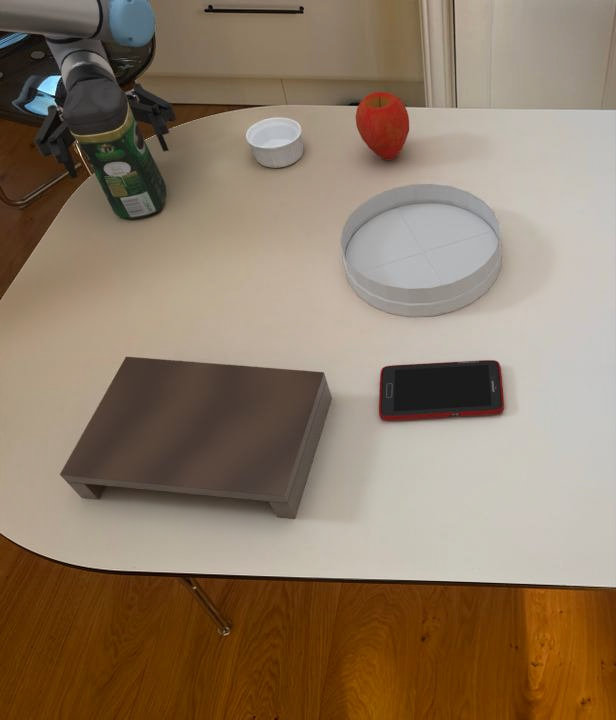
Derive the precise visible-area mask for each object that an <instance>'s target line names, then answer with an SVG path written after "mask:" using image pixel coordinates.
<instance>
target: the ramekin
mask: <svg viewBox="0 0 616 720" xmlns="http://www.w3.org/2000/svg"><path fill="white" fill-rule="evenodd" d="M302 135H303V130H302V126H301V125H300V124H299V122H298V121H296V120H294V119H292V118H288V117H281V116H280V117H270V118H265V119H261V120H259V121H257V122H255V123H253V124H252V125H251V126H250V127H249V128H248V129H247V131H246V133H245V140H246V142H247V143H248V145H249V147H250V150H251V152H252V155H253V156H254V159H255V161H256V162H257V163H258V164H259V165H261V166H263V167H267V168H273V169H274V168H275V169H276V168H277V169H278V168H279V169H280V168H284V167H288V166H291V165H293V164H295V163H296V162H298V161H299V160H300V159H301V157H302V156H303V154H304V144H303V137H302Z"/></svg>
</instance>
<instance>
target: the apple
mask: <svg viewBox="0 0 616 720" xmlns="http://www.w3.org/2000/svg"><path fill="white" fill-rule="evenodd" d="M355 112H356V113H355V125H356V126H355V127H356V128H357V130H358V133H359V136H360V137H361V140H362V141H363V142H364V144H365V145H366V146H367V147H368V149H370V150H371V151H372V152H373V153H374V154H375V155H377V156H378V157H379V158H381V159H382V160H385V161H387V160H394V159H396V158H397V156H398V155H399V153H400V152H401V151H402V149H403V147H404V146H405V143H406V141H407V138H408V135H409V132H410V117H409V113H408V110H407V107H406V106H405V103H404V102H403V101H402V100H401V98H400V97H398V96H397V95H396V94H393V93H390V92H383V91H377V92H372V93H369V94H368V95H366V96H364V98H362V100H361V101H360V102H359V104H358V106H357V108H356V111H355Z"/></svg>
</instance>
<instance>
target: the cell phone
mask: <svg viewBox="0 0 616 720" xmlns="http://www.w3.org/2000/svg"><path fill="white" fill-rule="evenodd" d="M378 393H379V394H378V395H379V396H378V415H379V418H380V419H381V420H382V421H403V420H404V421H405V420H418V419H438V418H451V417H473V416H490V415H491V416H492V415H499V414H502V413H503V412H504V409H505V399H504V388H503V377H502V369H501V363H500V362H499V361H497V360H496V359H494V360H493V359H483V360H482V359H481V360H465V361H464V360H463V361H448V362H447V361H445V362H430V363H429V362H428V363H411V364H409V363H407V364H393V365H385V366H383V367H381V370H380V373H379V391H378Z"/></svg>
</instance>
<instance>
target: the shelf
mask: <svg viewBox="0 0 616 720" xmlns="http://www.w3.org/2000/svg"><path fill="white" fill-rule="evenodd" d="M332 399H333V397H332V393H331V390H330V387H329V384H328V381H327V377H326V374H325V372H324V371H313V370H301V369H289V368H288V369H287V368H277V367H262V366H250V365H239V364H225V363H212V362H201V361H185V360H177V359H176V360H175V359H162V358H150V357H136V356H125V357H124V359H123V361H122V362H121V364H120V366H119V368H118V370H117V372H116V374H115V375H114V377H113V379H112V381H111V382H110V384H109V386H108V388H107V389H106V391H105V393H104V394H103V397H102V399H101V400H100V402H99V403H98V406H97V407H96V409H95V410H94V413H93V414H92V416H91V418H90V420H89V422H88V423H87V425H86V427H85V428H84V430H83V432H82V434H81V435H80V438H79V439H78V442H77V443H76V444H75V447H74V448H73V450H72V452H71V454H70V455H69V457H68V458H67V461H66V463H65V464H64V466H63V468H62V470H61V471H60V473H59V475H60V477H61V478H62V479H63V480H64V481H65V482H66V483H67V485H69V486H70V488H72V490H73V491H75V493H76V494H77V495H78V496H79V497H80V498H81V499H89V500H99V499H100V497H101V495H102V494H103V491H104V490H105V487H107V486H108V487H117V488H128V489H138V490H149V491H160V492H161V491H162V492H171V493H181V494H191V495H199V496H200V495H201V496H212V497H220V498H221V497H222V498H223V497H224V498H232V499H242V500H243V499H244V500H254V501H261V502H268V503H269V504H270V506H271V509H272V511H273V512H274V514H275V516H276V517H277V518H283V519H285V518H286V519H296V516H297V514H298V510H299V507H300V503H301V500H302V497H303V493H304V491H305V487H306V483H307V480H308V477H309V474H310V470H311V467H312V464H313V461H314V457H315V454H316V451H317V448H318V444H319V442H320V438H321V434H322V431H323V428H324V425H325V421H326V418H327V415H328V412H329V409H330V406H331V402H332Z"/></svg>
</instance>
